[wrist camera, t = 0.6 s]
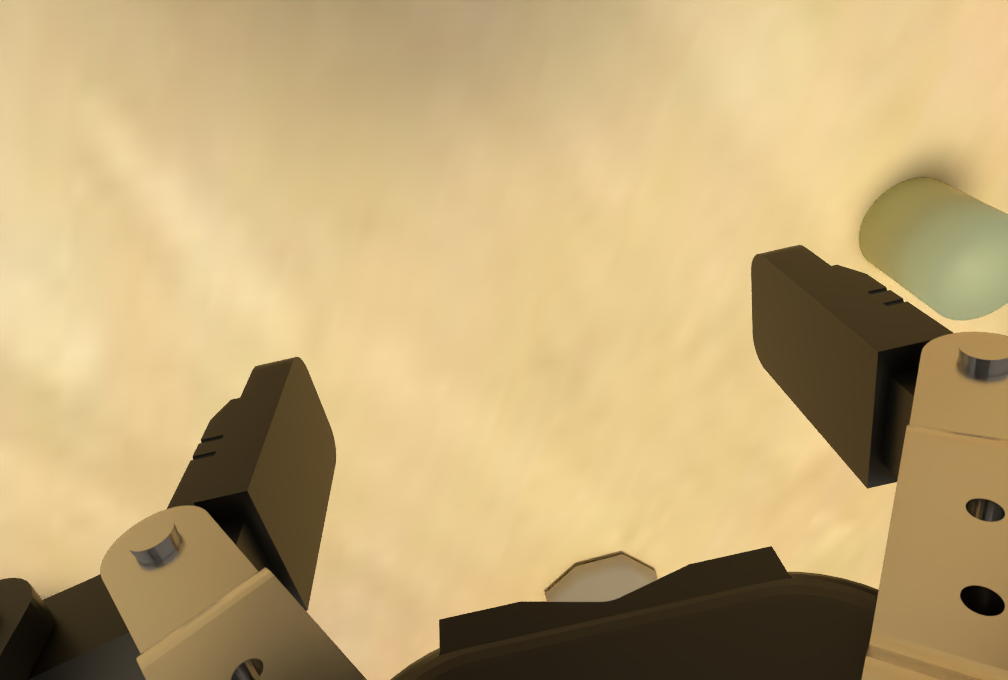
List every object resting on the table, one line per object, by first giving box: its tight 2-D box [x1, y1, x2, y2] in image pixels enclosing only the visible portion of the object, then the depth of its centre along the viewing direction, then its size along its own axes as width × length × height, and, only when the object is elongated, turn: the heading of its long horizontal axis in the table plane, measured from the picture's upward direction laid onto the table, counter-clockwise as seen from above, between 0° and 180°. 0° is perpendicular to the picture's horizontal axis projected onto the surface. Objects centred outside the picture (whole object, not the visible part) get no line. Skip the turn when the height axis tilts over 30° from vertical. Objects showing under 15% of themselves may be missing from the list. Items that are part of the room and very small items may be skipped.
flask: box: [545, 554, 657, 602], centre depth 38 cm, size 7×7×10 cm
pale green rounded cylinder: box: [859, 178, 1008, 320], centre depth 29 cm, size 4×4×5 cm
